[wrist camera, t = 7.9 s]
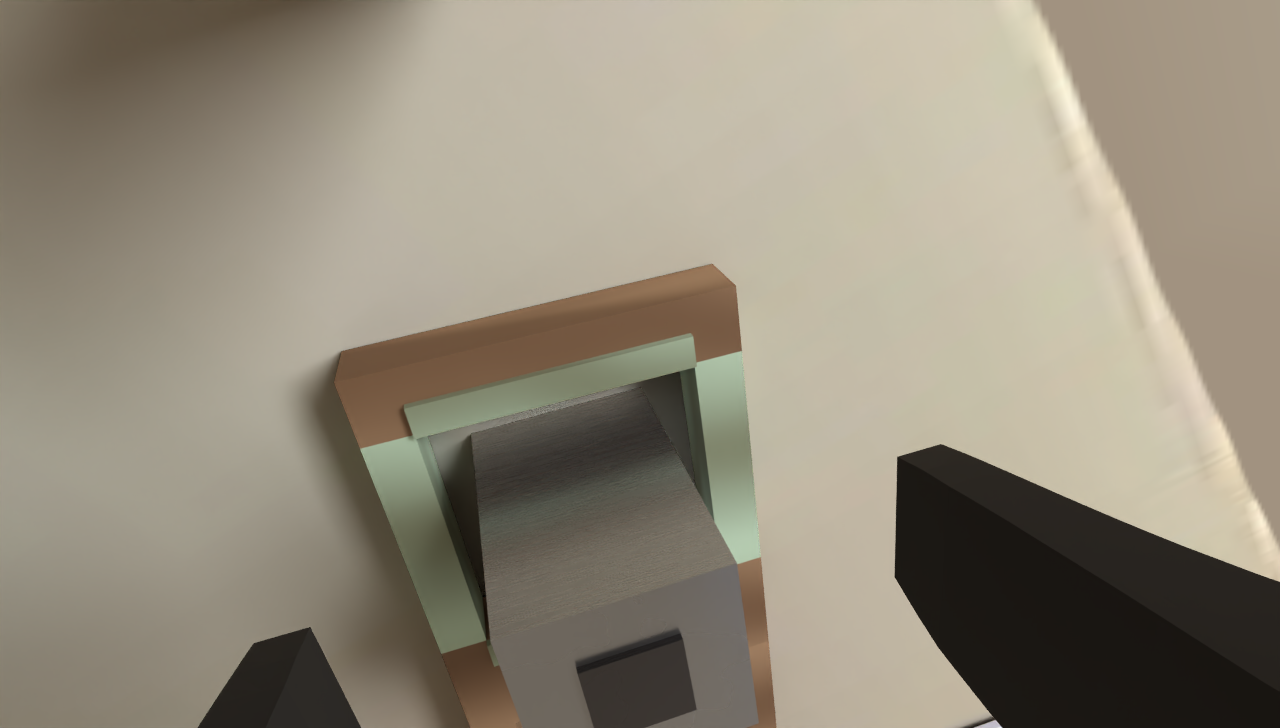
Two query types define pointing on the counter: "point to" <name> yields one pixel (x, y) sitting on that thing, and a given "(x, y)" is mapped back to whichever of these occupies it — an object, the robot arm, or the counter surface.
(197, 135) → the counter surface
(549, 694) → the block
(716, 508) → the tray
